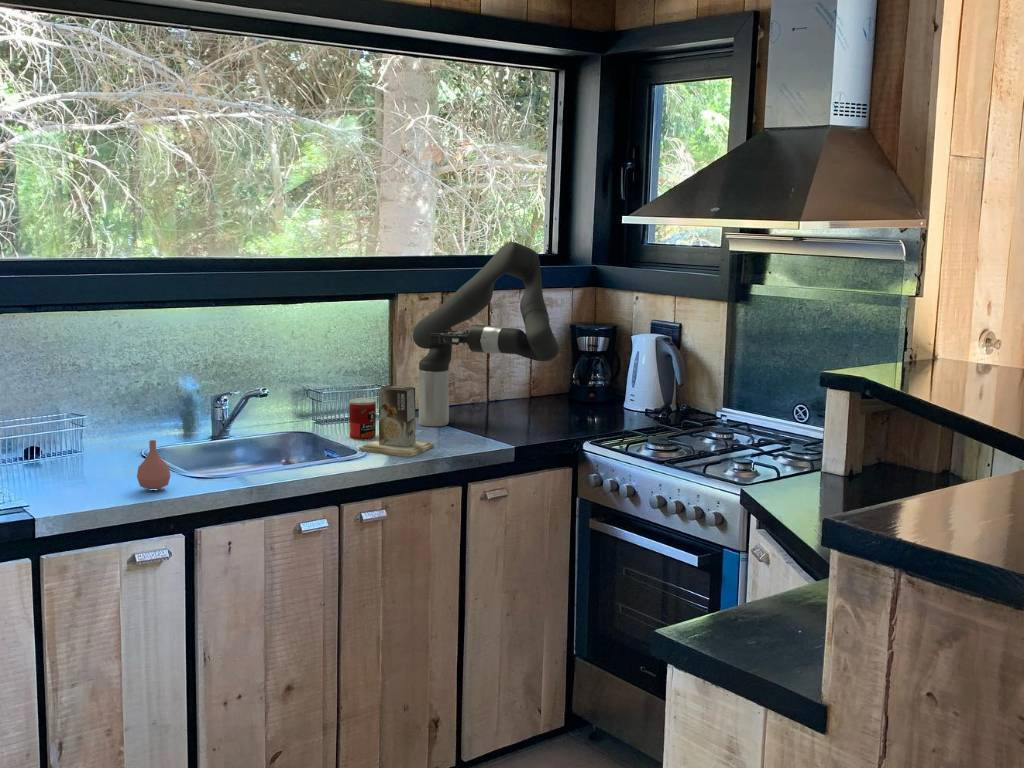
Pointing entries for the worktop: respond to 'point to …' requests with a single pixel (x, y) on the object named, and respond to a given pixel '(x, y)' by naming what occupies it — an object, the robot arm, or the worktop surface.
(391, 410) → the coffee box
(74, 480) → the worktop surface
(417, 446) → the folded beige cloth
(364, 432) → the canned food
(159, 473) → the terracotta vase
